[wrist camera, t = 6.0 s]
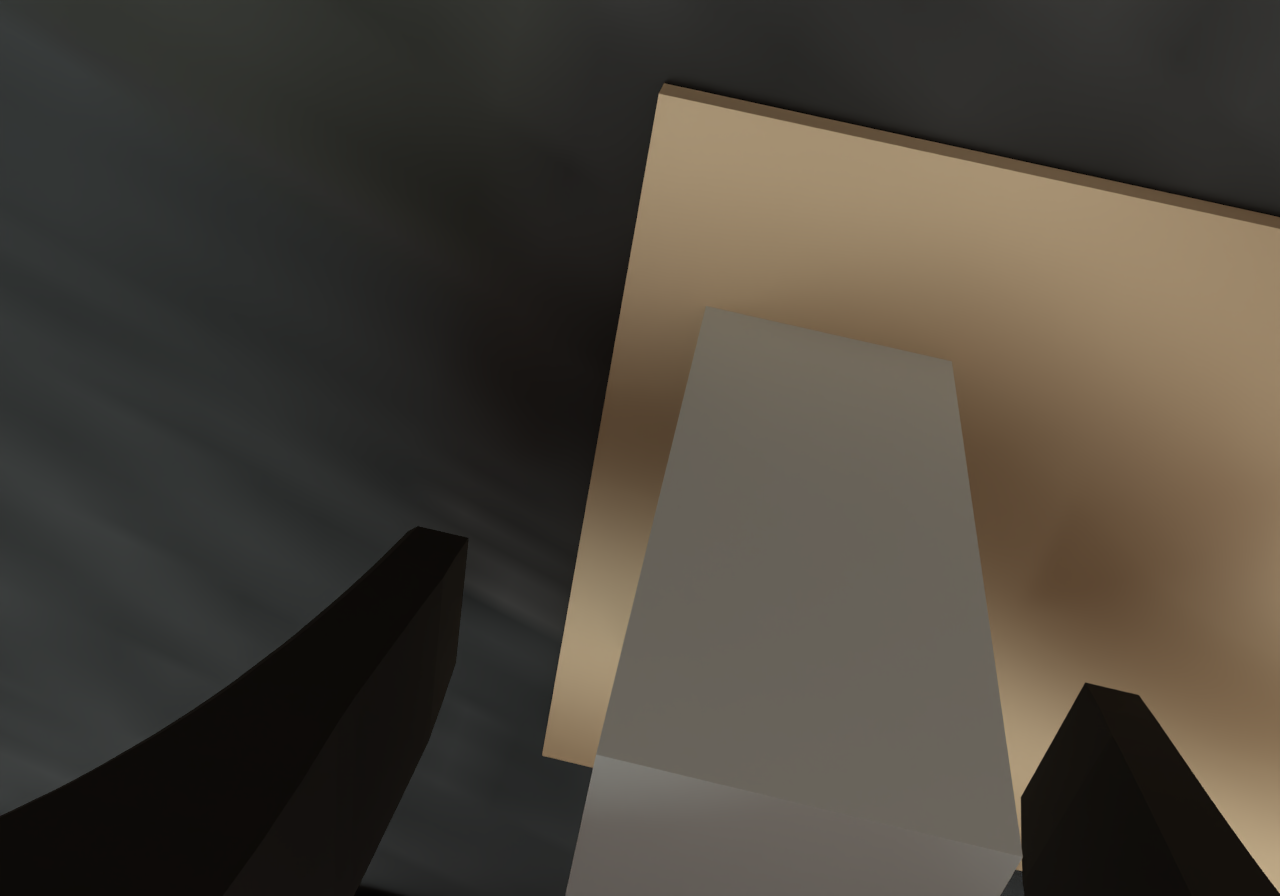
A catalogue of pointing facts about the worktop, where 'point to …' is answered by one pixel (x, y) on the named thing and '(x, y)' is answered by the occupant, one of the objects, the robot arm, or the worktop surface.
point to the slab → (806, 642)
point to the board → (988, 411)
